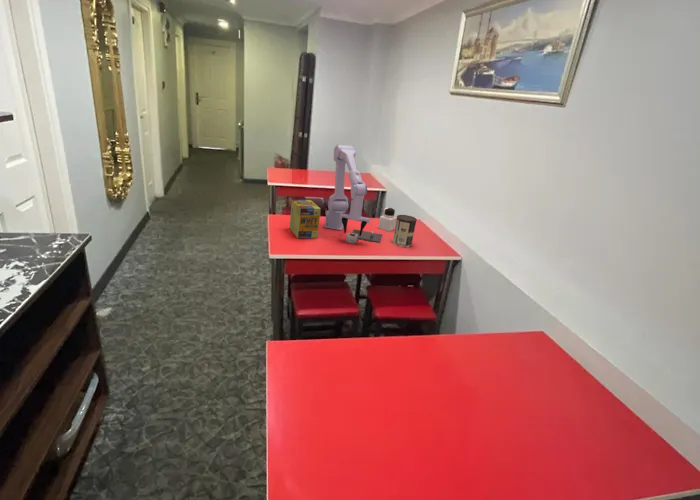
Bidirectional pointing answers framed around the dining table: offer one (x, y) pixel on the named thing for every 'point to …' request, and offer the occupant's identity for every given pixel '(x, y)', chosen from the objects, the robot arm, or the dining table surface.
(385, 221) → the medicine bottle
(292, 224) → the protein box
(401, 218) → the coffee can
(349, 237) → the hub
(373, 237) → the shaft block
